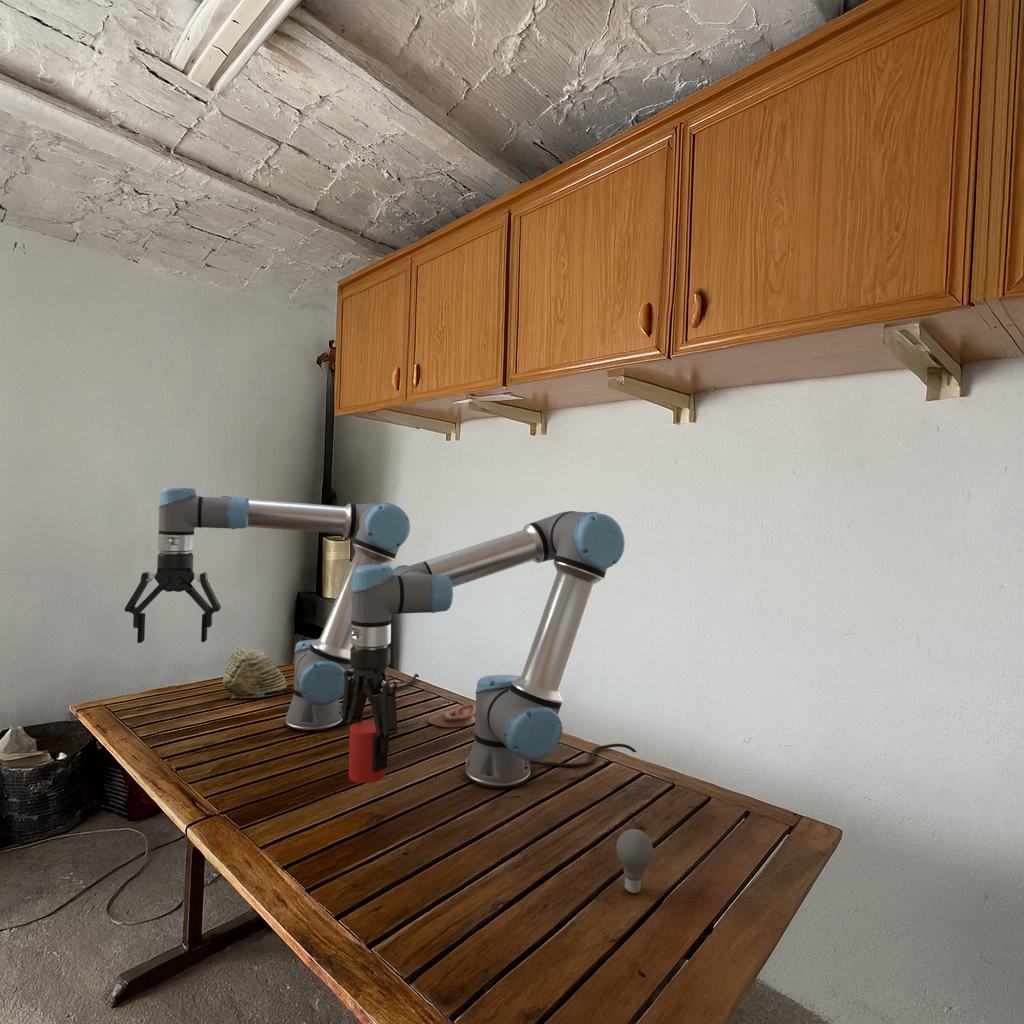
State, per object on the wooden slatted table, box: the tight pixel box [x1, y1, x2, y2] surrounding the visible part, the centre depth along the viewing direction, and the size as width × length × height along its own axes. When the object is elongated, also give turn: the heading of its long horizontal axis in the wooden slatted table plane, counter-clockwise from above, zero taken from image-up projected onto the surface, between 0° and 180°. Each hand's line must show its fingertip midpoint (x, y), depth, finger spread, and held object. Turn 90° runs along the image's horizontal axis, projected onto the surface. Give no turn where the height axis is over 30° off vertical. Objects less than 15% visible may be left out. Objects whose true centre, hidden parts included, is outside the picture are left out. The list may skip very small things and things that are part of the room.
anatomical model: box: [426, 703, 476, 728], centre depth 182 cm, size 13×4×12 cm
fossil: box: [222, 646, 288, 699], centre depth 198 cm, size 9×18×15 cm, turn 132°
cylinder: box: [348, 719, 387, 784], centre depth 122 cm, size 7×7×10 cm
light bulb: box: [615, 828, 654, 894], centre depth 106 cm, size 6×6×10 cm
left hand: (172, 641), depth 151 cm, fingers open, 13 cm apart
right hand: (367, 763), depth 123 cm, fingers closed on cylinder, 7 cm apart
